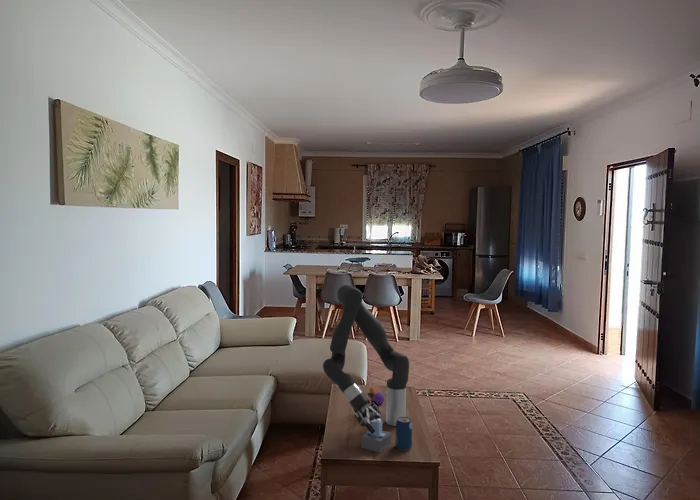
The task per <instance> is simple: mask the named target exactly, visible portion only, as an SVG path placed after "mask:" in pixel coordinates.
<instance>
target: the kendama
mask: <svg viewBox="0 0 700 500" xmlns="http://www.w3.org/2000/svg"><path fill="white" fill-rule="evenodd" d="M370 392H371V393H370ZM369 393H370V394H372V395H373V396H372V401H373V402H374V401H375V402H376V403H378V404H377V405H381V404H383V403H384V401H385V395H384V394H383V393H382V392H378V391H376V388H375V387H373V386H372V387H370V388H369ZM375 402H374V403H375ZM376 403H375V404H376Z"/></svg>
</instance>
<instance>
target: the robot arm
mask: <svg viewBox="0 0 700 500" xmlns="http://www.w3.org/2000/svg"><path fill="white" fill-rule="evenodd" d="M336 296H337V300H338V302H339V303H340V304H341V305H342V306H343V309H342V316H341V318H340V321H339V322H338V324H337V325H336V327H335V329H334V331H333V332H332V337H331V341H330V346H329V350H330V352H331V357H330V358H327V359H326V360H324V362H323V364H322V369H323V372H324V373H325V375H326V376H327V377H328V378H329V379H330V380H331V381H332V382H334V384H335V385H337V386H338V388H339V389H340V391H341V392H342V394H343V396H344V397H345V400H347V402H348V404H349V405H350V406H351V408H352V409H353V411H355V413H354V414H353V415H354V417H355V419H356V420H357V422H358V423H359V425H360V426H361V427H363V428H364V427H366V428H367V430H368V431H370V432H371V434H373V433H374V432H375V431H376V430H375V429H374V427H373V426H372V425H371V420H370V418H373V419H376V420H377V419H381V421H383V422H382V427H384V426H385V423H386V424H387V425H388V426H392V427H396V422H397V419H398V418H399V417H406V413H407V411H406V409H407V406H406V405H407V403H406V402H407V385H408V381H409V374H410V373H409V372H410V360H409V358H408V356H407V355H405V354H403V353H400V352H398V351H396V350H395V349H394V348H393V347H392V346H391V345H390V342H389V341H388V336H387V332H386V330H385V328H384V326H383V324H382V323H381V322H380V321H379V319H378V317H376V316H375V315H374V314H373V313H372V312H371V311H370V310H369V309H368V308H367V307H366V306H365V304H363V297H364V295H363V294H362V291H361V290H360V289H359V288H357V287H354V286H353V285H349V284H344V285H342V286H340V287H339V288H338V290H337V293H336ZM354 322H355V324H356V325H357V326H358V328H359V330H360V332H361V333H362V335H363V336H364V337H365V338H366V339H367V341H368V342H369V344H370V345H371V346H372V348H373V349H374V350H375V351H376V353H377V355H378V356H379V358H380V360H381V362H382V363H383V365H384V366H385V368H386V369H387V370H388V371H391V372H392V373H391V374H392V376H391V377H392V378H388V379H387V380H386V393H385V394H386V397H385V399H386V405H385V421H384V420H383V419H382V417H381V415H382V411H381V410H380V408H379V407H378V406H377V404H376V403H375V402H374V401H373V402H371V403H369V398H368V397H367V395H366V394H365V392H364V391H363V390H362V389H361V387H360V386H359V384H357V383H356V381H355V380H354V378H353V377H352V376H351V375H350V374H349V373H345V372H344V371H343V369H344V366H345V364H346V349H347V345H348V341H349V337H350V334H351V331H352V328H353V325H354Z"/></svg>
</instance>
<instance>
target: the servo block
mask: <svg viewBox="0 0 700 500" xmlns="http://www.w3.org/2000/svg"><path fill="white" fill-rule="evenodd" d="M383 421H384V420H383ZM383 421H381V419H377V420H376V419H375V418H373V419H372V420H370V423H371V425H372V426H373V427H374V429H375V430H376V431H375V432H374V433H373V434H371V432H370V431H369V430H368V431H366V433H367V434H370V436H374V437H377V438H381V437H384V436H386V434H385V433H382V431H383V426H382V422H383Z"/></svg>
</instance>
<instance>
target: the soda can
mask: <svg viewBox="0 0 700 500" xmlns="http://www.w3.org/2000/svg"><path fill="white" fill-rule="evenodd" d="M394 437H395V442H394V443H395V446H396V449H398V450H399V451H408V450H410V449H411V448H412V447H413V446H412V445H413V422H412V418H410V417H408V416H405V417H399V418H398V419H397V422H396V426H395V436H394Z"/></svg>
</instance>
